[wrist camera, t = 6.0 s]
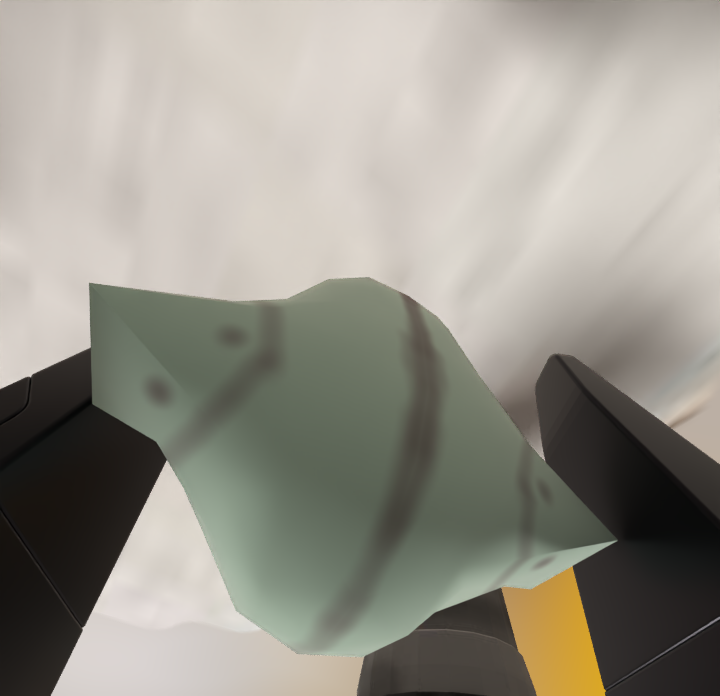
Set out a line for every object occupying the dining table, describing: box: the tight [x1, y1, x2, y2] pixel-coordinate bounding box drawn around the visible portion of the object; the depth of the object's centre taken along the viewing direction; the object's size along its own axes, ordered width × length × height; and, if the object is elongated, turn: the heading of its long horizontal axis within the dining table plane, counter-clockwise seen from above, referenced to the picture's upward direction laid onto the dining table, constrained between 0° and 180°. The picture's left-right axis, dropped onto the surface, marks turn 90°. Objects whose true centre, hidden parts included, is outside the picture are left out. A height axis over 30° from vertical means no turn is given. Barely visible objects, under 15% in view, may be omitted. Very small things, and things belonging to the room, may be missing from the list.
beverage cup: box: [357, 588, 536, 696], centre depth 17 cm, size 7×7×20 cm
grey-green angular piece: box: [89, 277, 618, 657], centre depth 7 cm, size 8×4×7 cm, turn 60°
